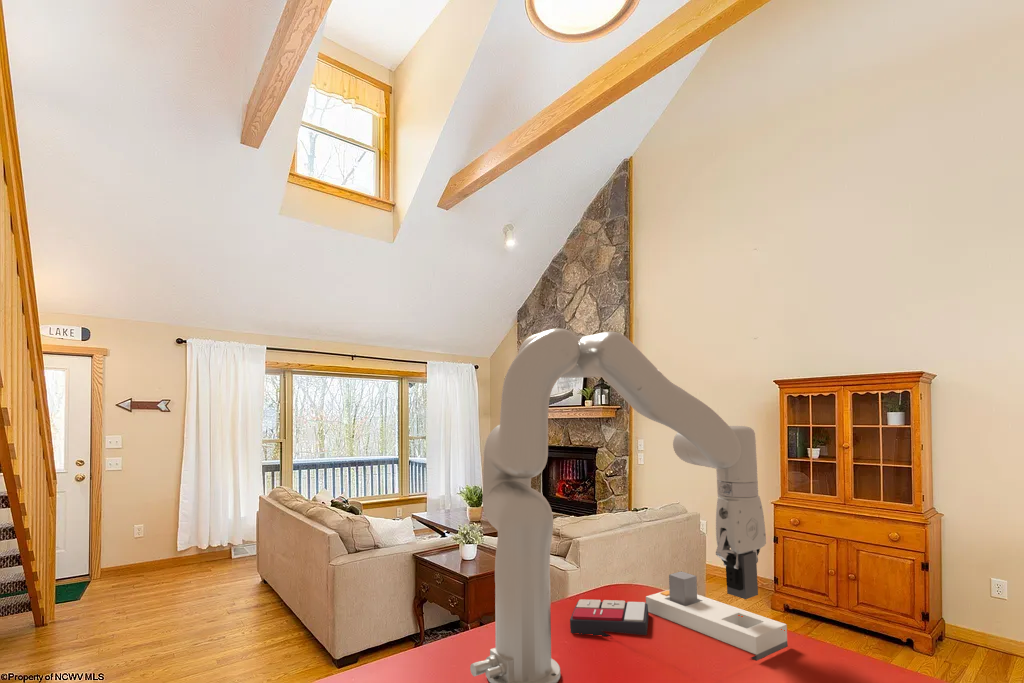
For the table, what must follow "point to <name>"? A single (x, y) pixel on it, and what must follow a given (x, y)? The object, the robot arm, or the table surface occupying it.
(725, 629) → the power strip
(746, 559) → the plug
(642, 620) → the calculator
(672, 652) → the table surface
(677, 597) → the grey square peg
